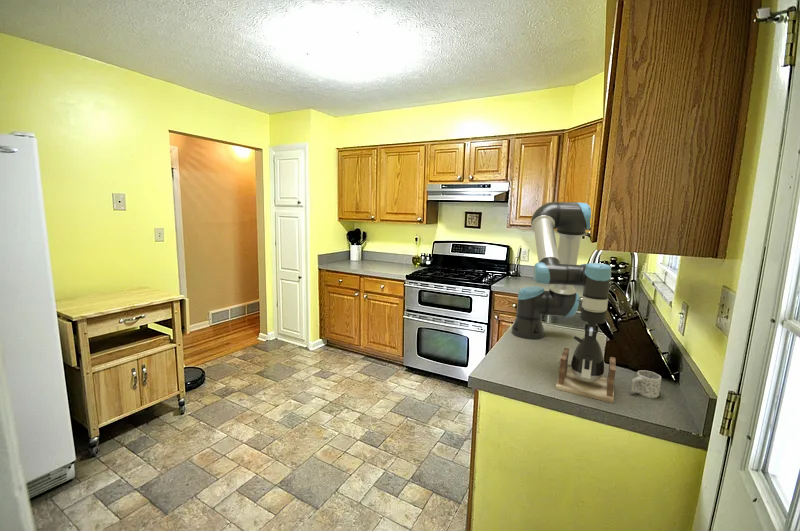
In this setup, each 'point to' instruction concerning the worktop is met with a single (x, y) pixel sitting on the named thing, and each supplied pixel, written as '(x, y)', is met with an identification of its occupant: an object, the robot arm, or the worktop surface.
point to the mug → (646, 384)
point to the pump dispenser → (597, 361)
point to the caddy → (595, 390)
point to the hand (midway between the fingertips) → (586, 371)
